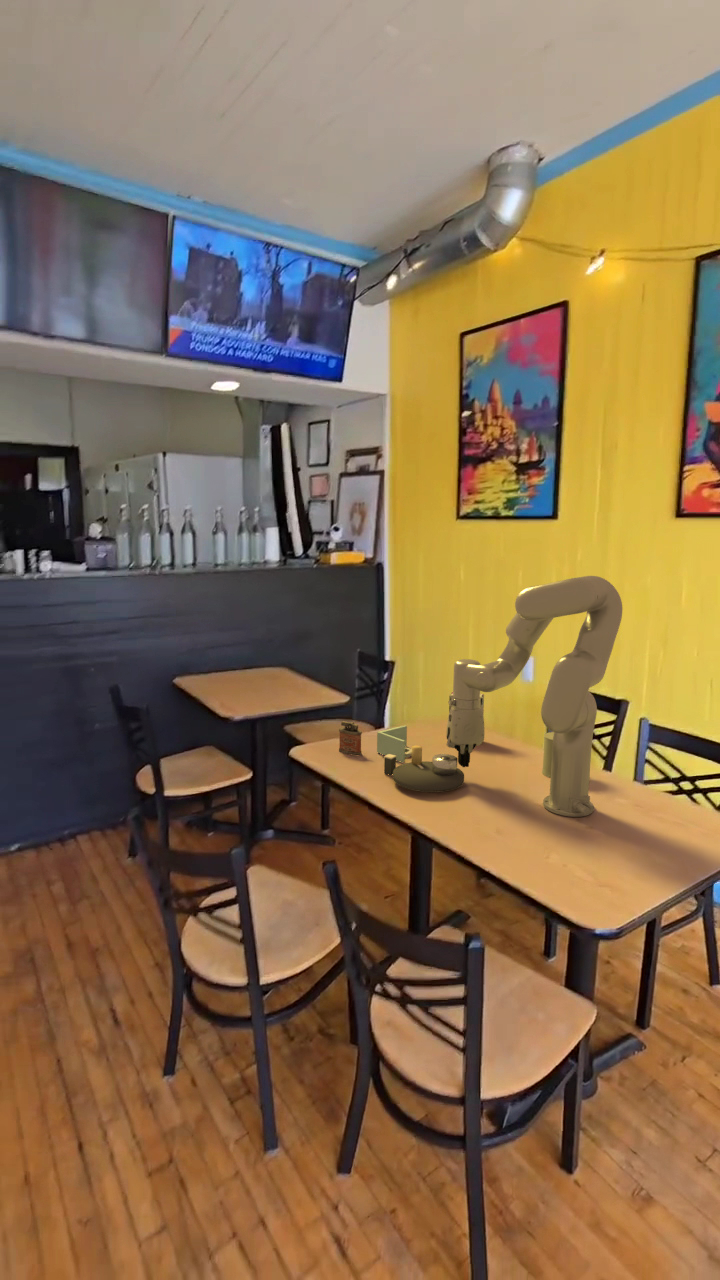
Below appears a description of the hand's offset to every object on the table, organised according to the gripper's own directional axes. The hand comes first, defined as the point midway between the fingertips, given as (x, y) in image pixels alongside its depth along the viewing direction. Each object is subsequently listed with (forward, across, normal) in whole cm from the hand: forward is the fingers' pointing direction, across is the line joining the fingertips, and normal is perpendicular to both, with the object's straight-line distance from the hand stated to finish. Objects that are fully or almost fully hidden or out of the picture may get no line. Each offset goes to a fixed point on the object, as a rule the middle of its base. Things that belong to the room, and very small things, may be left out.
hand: (463, 765), depth 196 cm
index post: (+4, -19, +10) cm, 22 cm away
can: (+4, +29, -4) cm, 30 cm away
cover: (+1, -6, 0) cm, 6 cm away
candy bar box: (+4, +17, +32) cm, 36 cm away
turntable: (+3, -11, 0) cm, 11 cm away
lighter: (+4, -24, +32) cm, 40 cm away
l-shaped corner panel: (+5, -8, +26) cm, 27 cm away
